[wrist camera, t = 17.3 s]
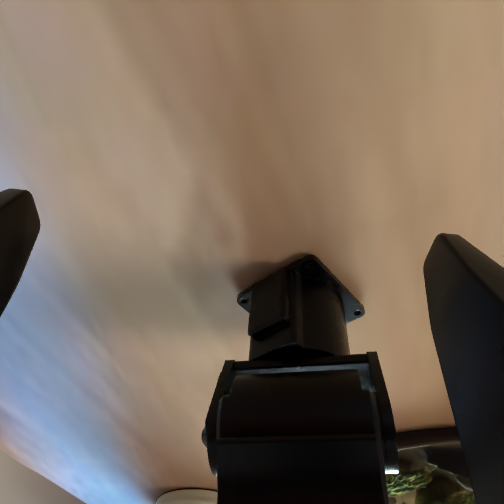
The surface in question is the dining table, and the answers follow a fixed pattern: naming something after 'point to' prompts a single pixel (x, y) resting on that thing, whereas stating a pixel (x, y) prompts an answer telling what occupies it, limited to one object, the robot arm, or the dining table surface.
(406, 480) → the salad plate
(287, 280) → the robot arm
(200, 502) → the jar
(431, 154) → the dining table surface
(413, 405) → the dining table surface
